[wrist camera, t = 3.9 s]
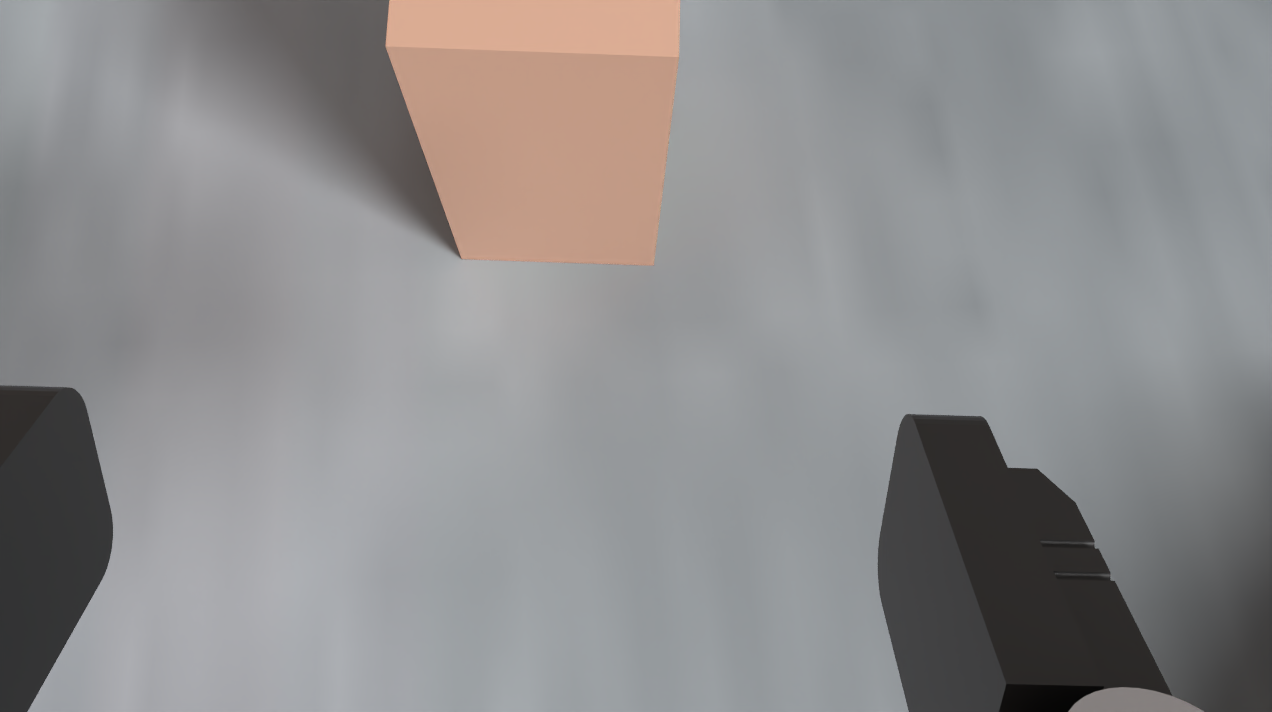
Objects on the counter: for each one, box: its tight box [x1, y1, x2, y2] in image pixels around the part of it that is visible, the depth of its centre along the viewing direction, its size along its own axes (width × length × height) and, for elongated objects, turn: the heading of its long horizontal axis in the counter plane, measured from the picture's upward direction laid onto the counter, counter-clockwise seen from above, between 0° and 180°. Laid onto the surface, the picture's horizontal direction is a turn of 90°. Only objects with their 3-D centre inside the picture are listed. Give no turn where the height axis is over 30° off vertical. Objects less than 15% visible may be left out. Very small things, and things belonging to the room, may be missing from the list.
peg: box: [386, 0, 680, 266], centre depth 21 cm, size 4×4×9 cm
